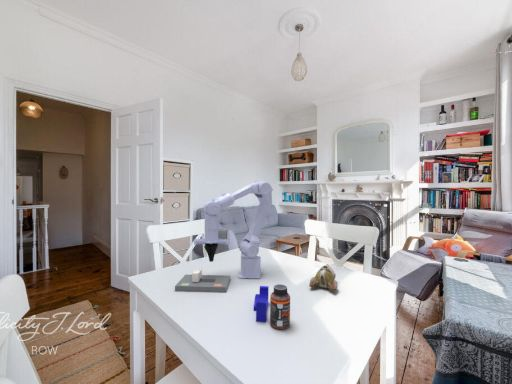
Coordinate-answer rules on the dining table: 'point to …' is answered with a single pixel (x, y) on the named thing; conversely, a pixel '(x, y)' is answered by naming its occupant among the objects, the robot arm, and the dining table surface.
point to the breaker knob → (197, 275)
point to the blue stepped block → (261, 304)
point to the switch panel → (204, 284)
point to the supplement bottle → (280, 307)
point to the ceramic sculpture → (324, 278)
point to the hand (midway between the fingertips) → (211, 260)
